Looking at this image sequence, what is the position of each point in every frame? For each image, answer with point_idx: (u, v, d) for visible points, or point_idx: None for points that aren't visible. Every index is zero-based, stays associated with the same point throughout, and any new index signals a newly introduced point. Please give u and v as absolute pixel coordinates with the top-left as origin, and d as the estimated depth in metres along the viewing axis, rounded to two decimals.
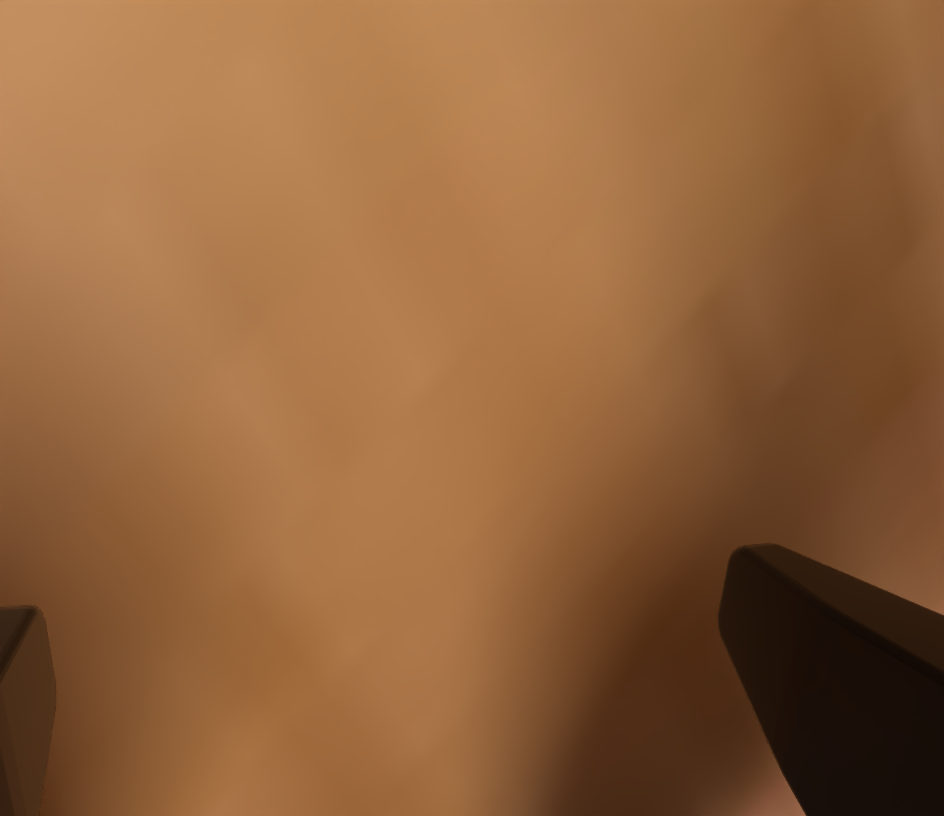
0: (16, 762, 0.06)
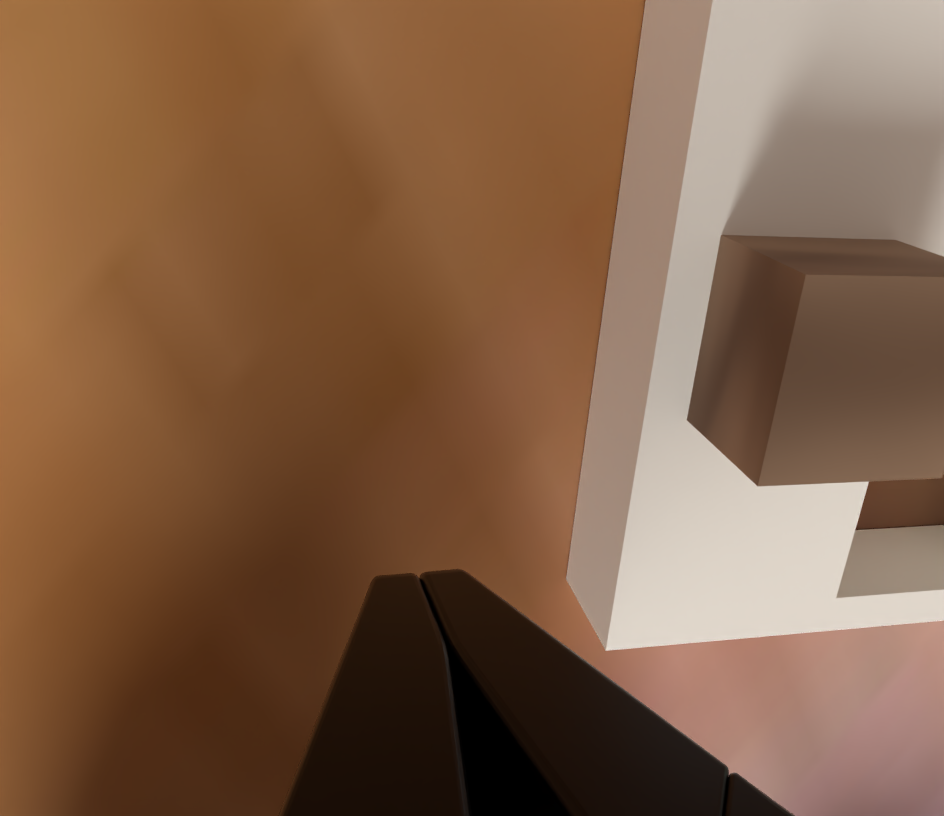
0: None
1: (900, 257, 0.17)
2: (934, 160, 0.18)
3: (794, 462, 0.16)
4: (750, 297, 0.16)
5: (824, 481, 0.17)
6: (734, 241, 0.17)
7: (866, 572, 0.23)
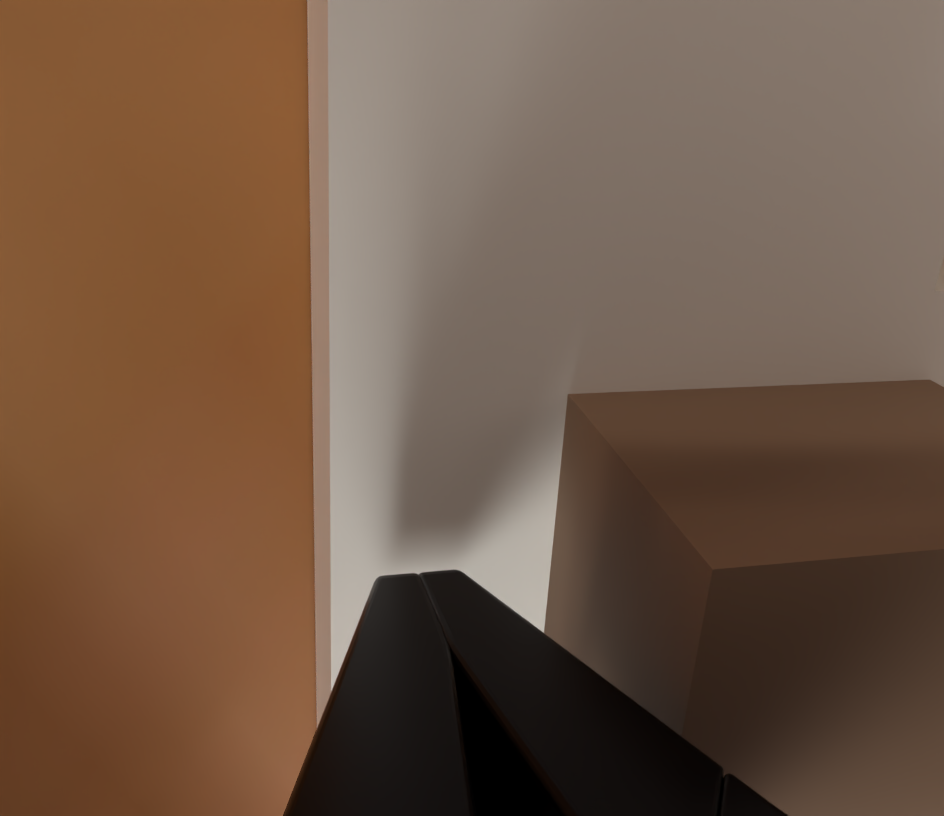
0: None
1: None
2: (899, 228, 0.08)
3: None
4: (613, 552, 0.07)
5: None
6: (587, 416, 0.08)
7: None
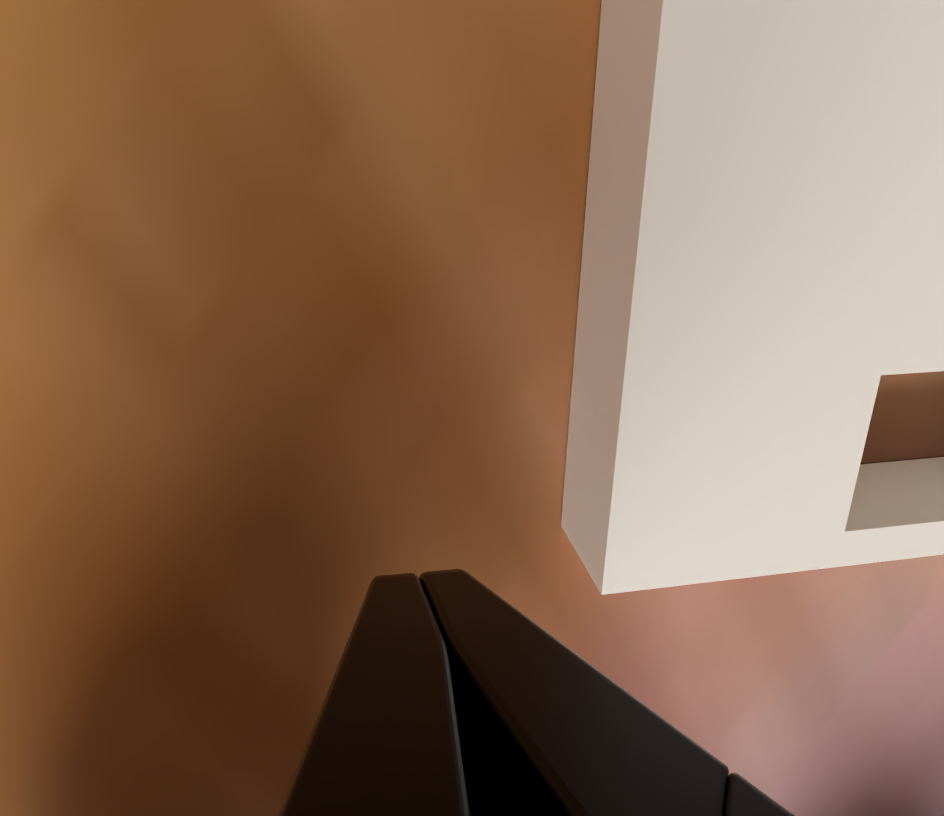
0: None
1: None
2: (930, 47, 0.16)
3: None
4: None
5: None
6: None
7: (877, 505, 0.22)
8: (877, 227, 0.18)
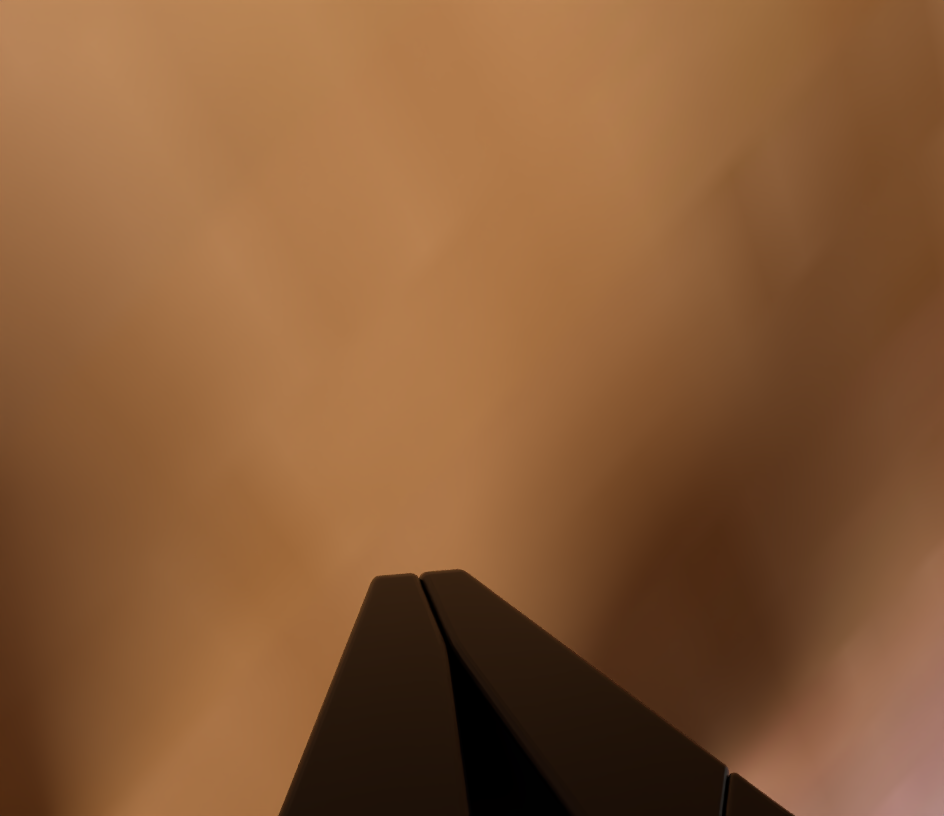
0: None
1: None
2: None
3: None
4: None
5: None
6: None
7: None
8: None
